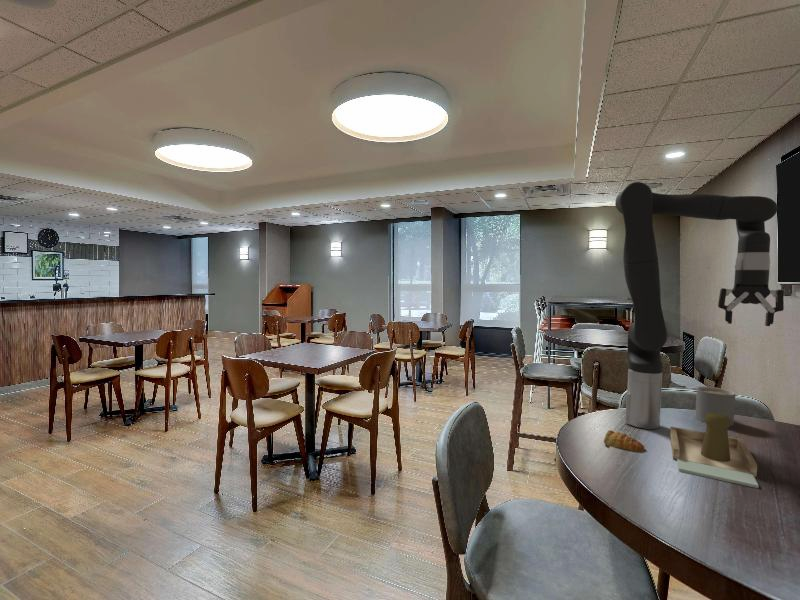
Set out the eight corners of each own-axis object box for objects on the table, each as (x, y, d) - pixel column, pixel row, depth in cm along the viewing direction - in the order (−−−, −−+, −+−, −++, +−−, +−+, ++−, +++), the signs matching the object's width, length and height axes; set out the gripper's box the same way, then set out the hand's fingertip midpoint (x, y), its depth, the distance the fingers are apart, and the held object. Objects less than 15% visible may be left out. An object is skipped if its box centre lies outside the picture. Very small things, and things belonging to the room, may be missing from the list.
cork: (694, 451, 106) (697, 410, 106) (716, 450, 107) (718, 409, 106) (714, 462, 100) (717, 418, 100) (737, 461, 101) (739, 417, 100)
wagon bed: (673, 462, 102) (673, 448, 102) (670, 438, 118) (670, 426, 118) (756, 479, 94) (757, 464, 94) (741, 451, 110) (742, 438, 109)
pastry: (647, 450, 110) (647, 436, 110) (639, 458, 105) (639, 443, 105) (610, 439, 117) (610, 426, 116) (601, 446, 112) (601, 433, 112)
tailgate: (677, 463, 102) (678, 473, 96) (677, 458, 101) (678, 468, 96) (752, 479, 94) (758, 490, 89) (752, 474, 94) (758, 485, 89)
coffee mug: (735, 428, 127) (737, 396, 126) (695, 421, 132) (697, 391, 132) (730, 416, 138) (732, 387, 137) (694, 410, 143) (695, 382, 143)
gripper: (722, 268, 118) (719, 324, 119) (789, 268, 111) (784, 328, 112) (719, 269, 124) (715, 321, 125) (781, 269, 117) (777, 325, 118)
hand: (748, 324), depth 118 cm, fingers open, 8 cm apart
